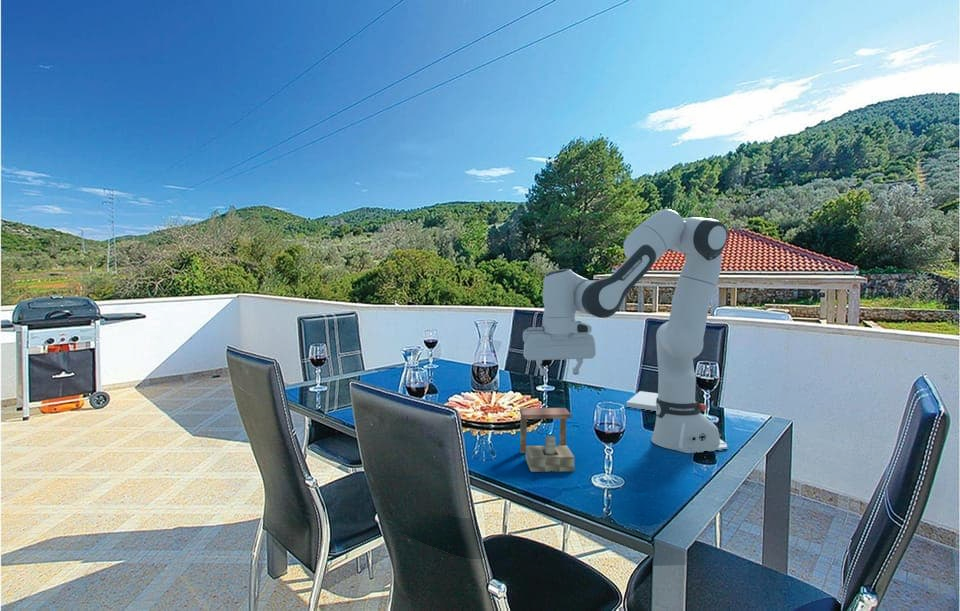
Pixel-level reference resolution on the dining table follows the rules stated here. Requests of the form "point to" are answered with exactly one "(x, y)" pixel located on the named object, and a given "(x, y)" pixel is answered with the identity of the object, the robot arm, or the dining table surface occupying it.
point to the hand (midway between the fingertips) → (559, 374)
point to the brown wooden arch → (542, 414)
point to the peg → (550, 445)
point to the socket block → (549, 459)
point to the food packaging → (643, 401)
